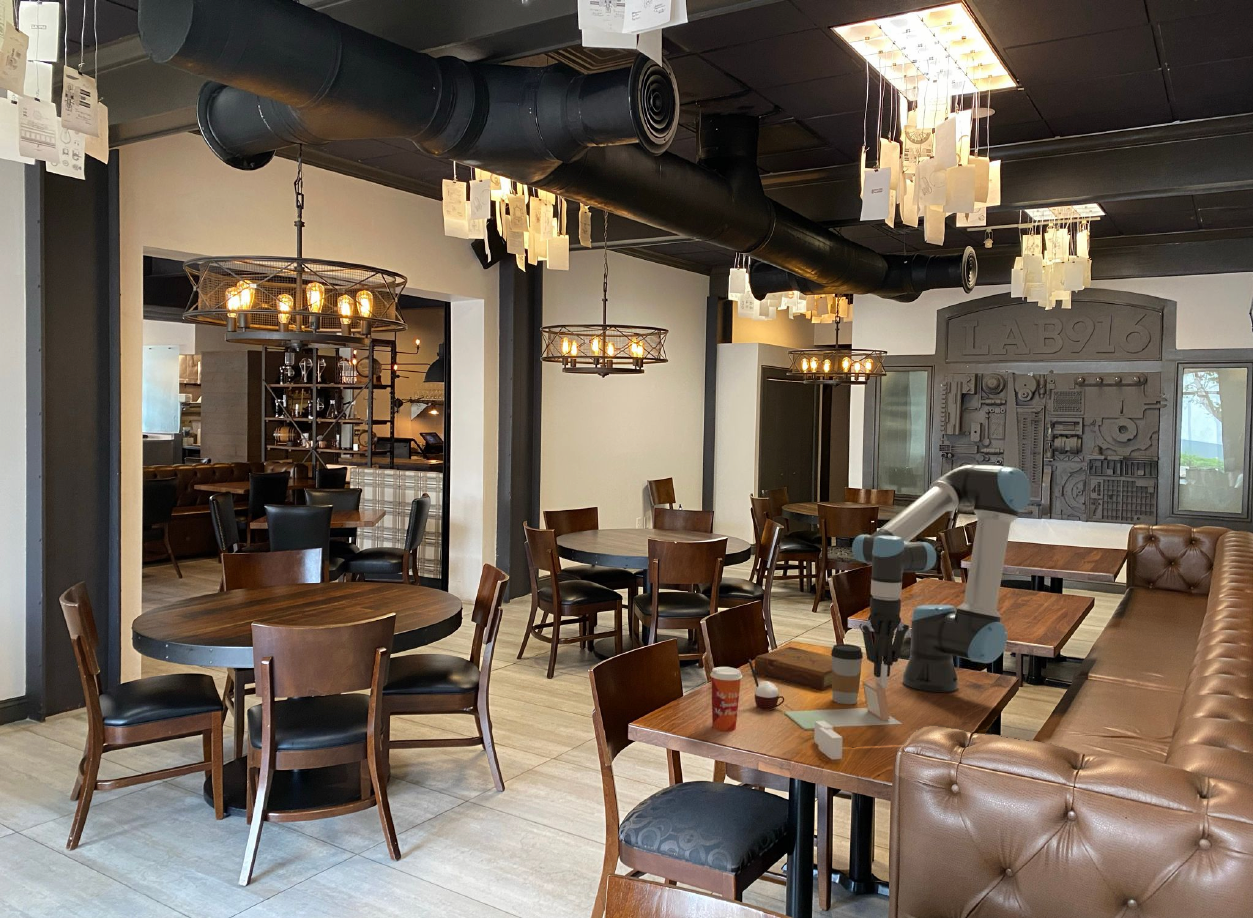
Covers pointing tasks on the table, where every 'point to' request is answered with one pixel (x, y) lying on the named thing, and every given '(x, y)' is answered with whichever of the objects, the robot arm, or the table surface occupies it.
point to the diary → (797, 667)
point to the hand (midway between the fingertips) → (880, 689)
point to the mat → (837, 718)
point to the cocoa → (765, 693)
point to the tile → (876, 700)
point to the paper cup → (725, 697)
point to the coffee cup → (846, 673)
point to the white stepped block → (828, 740)
